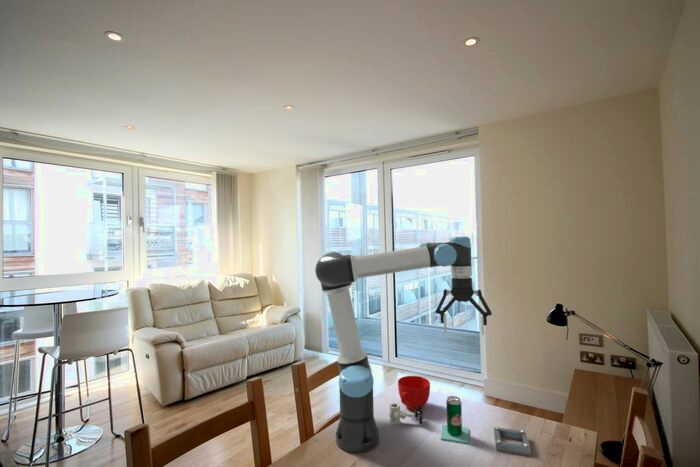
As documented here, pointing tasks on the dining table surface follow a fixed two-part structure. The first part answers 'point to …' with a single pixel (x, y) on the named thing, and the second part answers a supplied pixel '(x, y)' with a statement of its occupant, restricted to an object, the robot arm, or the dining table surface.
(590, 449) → the dining table surface
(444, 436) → the pad
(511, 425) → the dining table surface
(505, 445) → the frame
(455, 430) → the soda can
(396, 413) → the valve
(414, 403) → the ceramic cup
